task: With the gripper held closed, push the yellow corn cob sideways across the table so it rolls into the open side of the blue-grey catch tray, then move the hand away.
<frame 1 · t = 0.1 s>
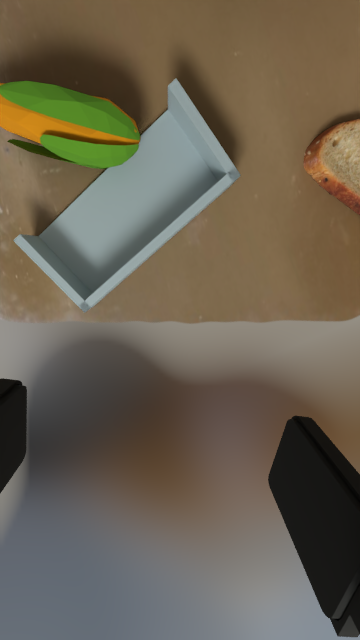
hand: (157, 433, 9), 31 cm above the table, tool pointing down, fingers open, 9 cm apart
catch tray: (131, 214, 35), on the table
corn: (69, 139, 33), on the table, touching catch tray
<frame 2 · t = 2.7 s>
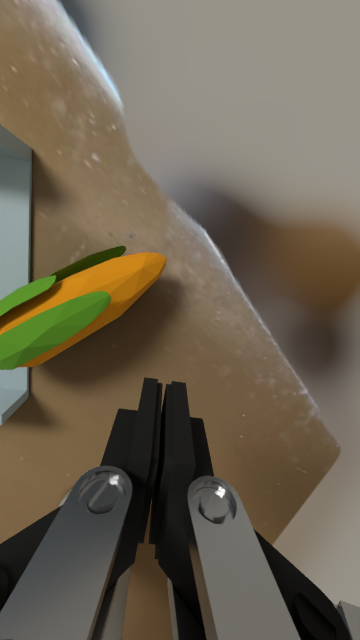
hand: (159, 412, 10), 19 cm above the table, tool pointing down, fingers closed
corn: (84, 297, 27), on the table, touching catch tray
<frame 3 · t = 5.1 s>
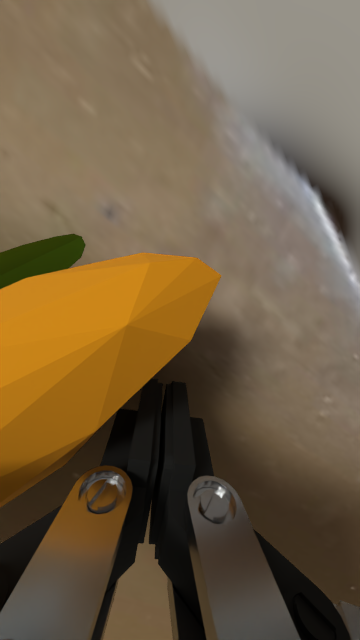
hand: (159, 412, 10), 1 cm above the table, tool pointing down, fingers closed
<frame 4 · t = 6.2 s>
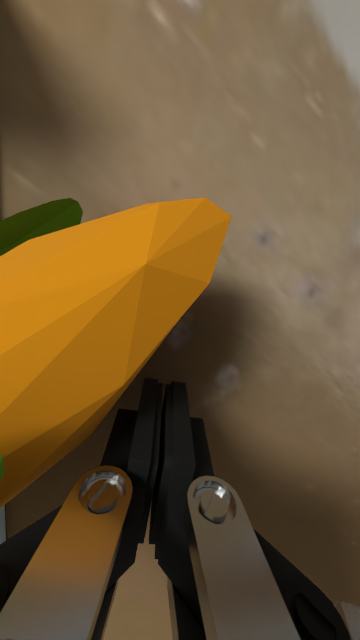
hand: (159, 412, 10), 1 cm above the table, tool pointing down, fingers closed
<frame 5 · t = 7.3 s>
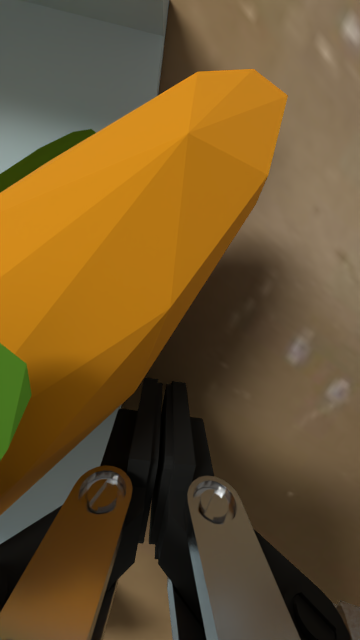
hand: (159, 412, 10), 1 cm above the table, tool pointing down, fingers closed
corn: (34, 335, 10), resting on catch tray, touching gripper
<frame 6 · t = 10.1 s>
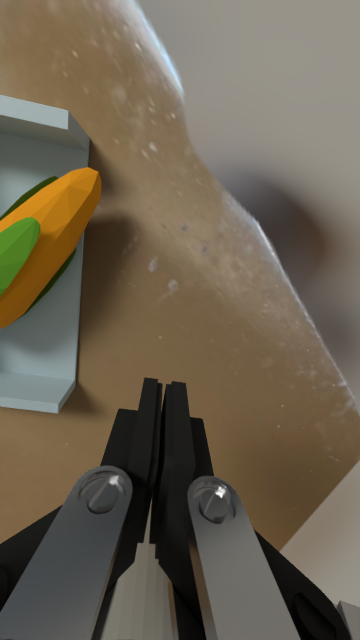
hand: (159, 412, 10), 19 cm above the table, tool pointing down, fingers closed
catch tray: (22, 271, 26), on the table
corn: (39, 250, 25), resting on catch tray
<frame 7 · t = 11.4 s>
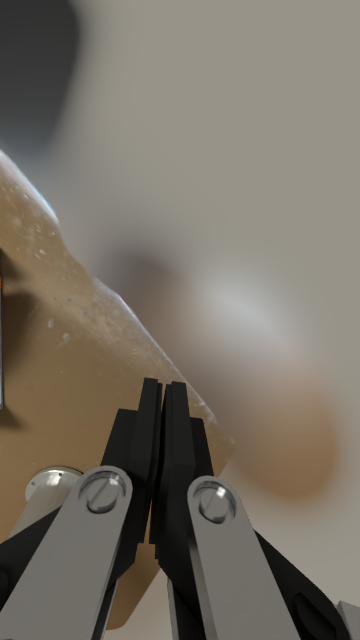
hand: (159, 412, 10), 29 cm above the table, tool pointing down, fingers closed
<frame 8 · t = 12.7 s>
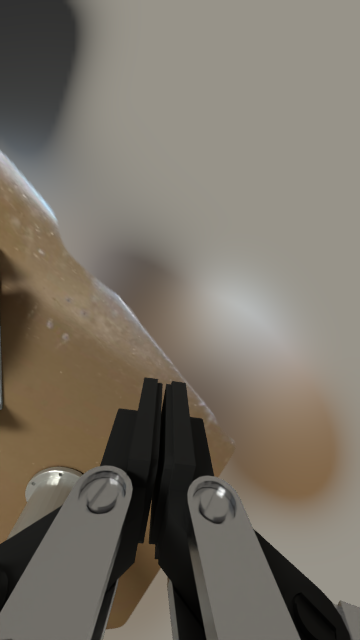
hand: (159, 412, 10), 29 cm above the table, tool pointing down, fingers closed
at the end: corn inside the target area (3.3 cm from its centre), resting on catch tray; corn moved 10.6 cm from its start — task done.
